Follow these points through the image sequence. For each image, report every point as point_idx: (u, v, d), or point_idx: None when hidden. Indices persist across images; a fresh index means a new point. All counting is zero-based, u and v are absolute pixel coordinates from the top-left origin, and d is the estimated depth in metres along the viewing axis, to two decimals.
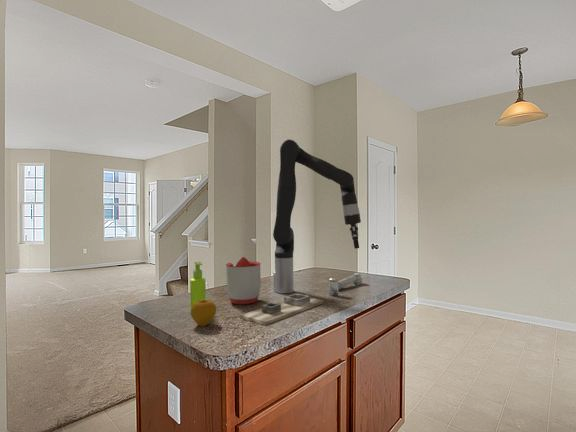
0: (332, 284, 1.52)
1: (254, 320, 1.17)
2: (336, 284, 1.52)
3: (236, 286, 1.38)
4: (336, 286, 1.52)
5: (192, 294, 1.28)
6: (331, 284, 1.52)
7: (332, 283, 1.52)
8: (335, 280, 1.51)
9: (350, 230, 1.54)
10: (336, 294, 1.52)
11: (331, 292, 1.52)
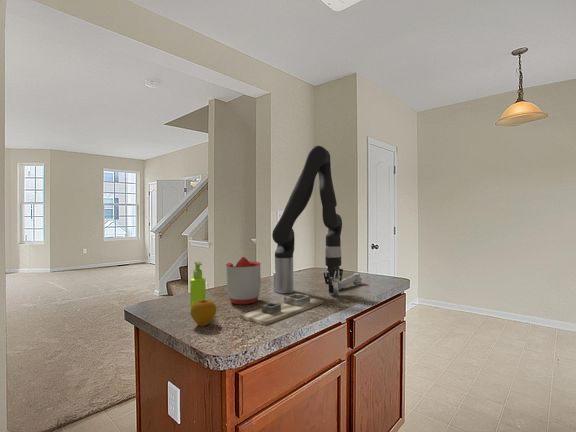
0: None
1: (254, 320, 1.17)
2: (336, 284, 1.52)
3: (236, 286, 1.38)
4: (336, 286, 1.52)
5: (192, 294, 1.28)
6: None
7: None
8: (335, 280, 1.51)
9: None
10: (336, 294, 1.52)
11: None
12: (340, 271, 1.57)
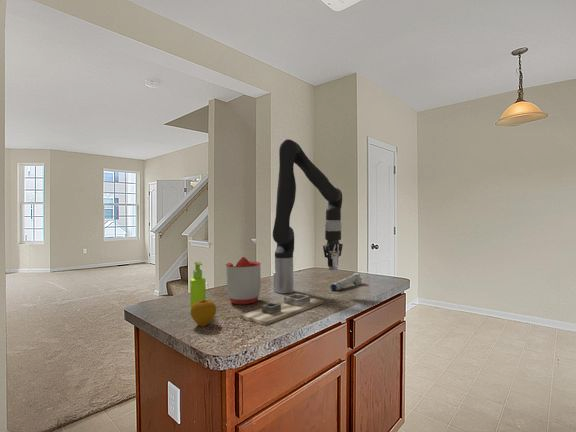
0: None
1: (254, 320, 1.17)
2: (335, 258, 1.52)
3: (236, 286, 1.38)
4: (335, 260, 1.52)
5: (192, 294, 1.28)
6: None
7: None
8: (334, 254, 1.51)
9: None
10: (335, 268, 1.52)
11: None
12: (340, 246, 1.57)
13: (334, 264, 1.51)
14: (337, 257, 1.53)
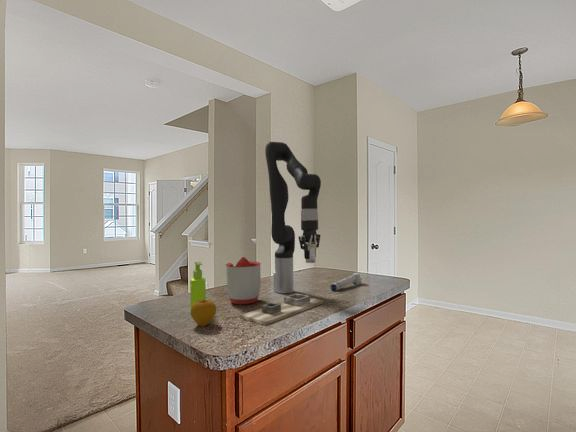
0: None
1: (254, 320, 1.17)
2: (313, 249, 1.41)
3: (236, 286, 1.38)
4: (313, 252, 1.41)
5: (192, 294, 1.28)
6: None
7: None
8: (311, 245, 1.40)
9: None
10: (313, 260, 1.41)
11: None
12: (317, 237, 1.46)
13: (311, 256, 1.41)
14: (314, 248, 1.42)
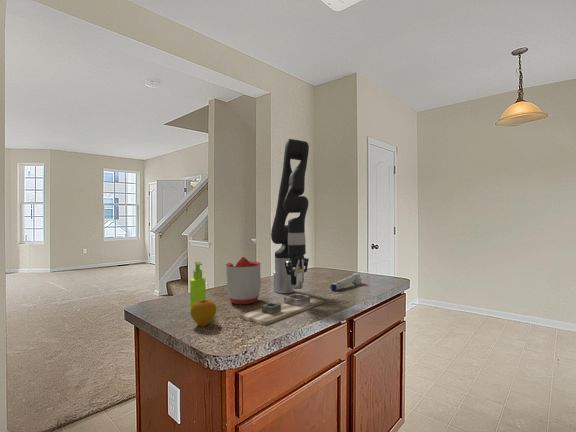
0: None
1: (254, 320, 1.17)
2: (300, 275, 1.35)
3: (236, 286, 1.38)
4: (300, 277, 1.35)
5: (192, 294, 1.28)
6: None
7: None
8: (299, 271, 1.35)
9: None
10: (300, 286, 1.35)
11: None
12: (305, 261, 1.40)
13: (298, 282, 1.35)
14: (302, 274, 1.36)
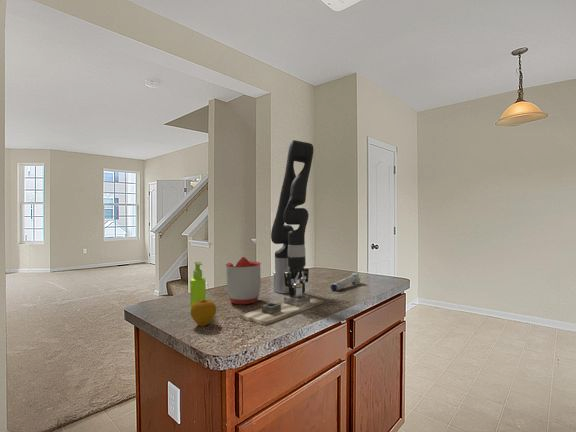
0: (295, 290, 1.35)
1: (254, 320, 1.17)
2: (299, 290, 1.35)
3: (236, 286, 1.38)
4: (299, 293, 1.35)
5: (192, 294, 1.28)
6: (294, 290, 1.35)
7: (295, 289, 1.35)
8: (298, 286, 1.35)
9: None
10: None
11: None
12: (305, 271, 1.41)
13: (298, 297, 1.35)
14: None
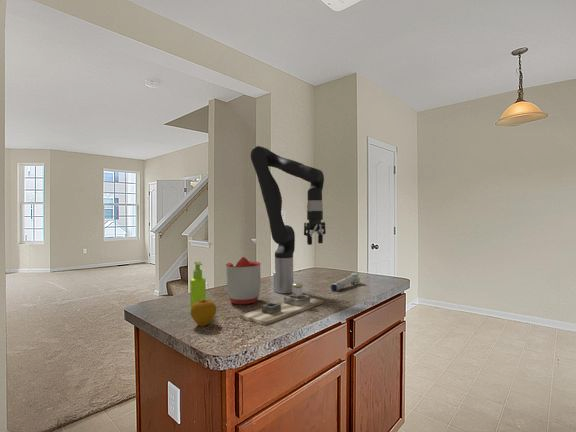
0: (295, 290, 1.35)
1: (254, 320, 1.17)
2: (299, 290, 1.35)
3: (236, 286, 1.38)
4: (299, 293, 1.35)
5: (192, 294, 1.28)
6: (294, 290, 1.35)
7: (295, 289, 1.35)
8: (298, 286, 1.35)
9: None
10: None
11: None
12: (322, 225, 1.59)
13: (298, 297, 1.35)
14: None
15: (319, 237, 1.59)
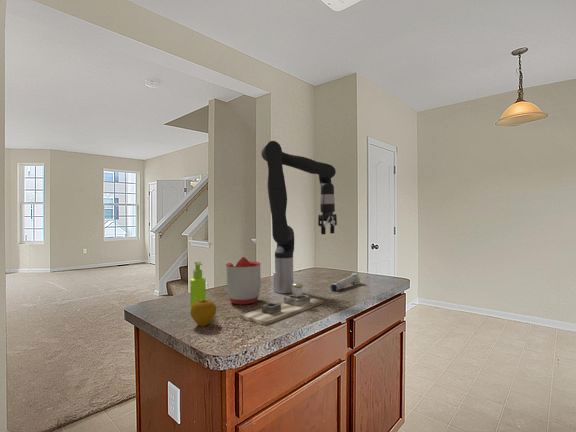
0: (295, 290, 1.35)
1: (254, 320, 1.17)
2: (299, 290, 1.35)
3: (236, 286, 1.38)
4: (299, 293, 1.35)
5: (192, 294, 1.28)
6: (294, 290, 1.35)
7: (295, 289, 1.35)
8: (298, 286, 1.35)
9: None
10: None
11: None
12: (334, 217, 1.75)
13: (298, 297, 1.35)
14: None
15: (331, 228, 1.75)
